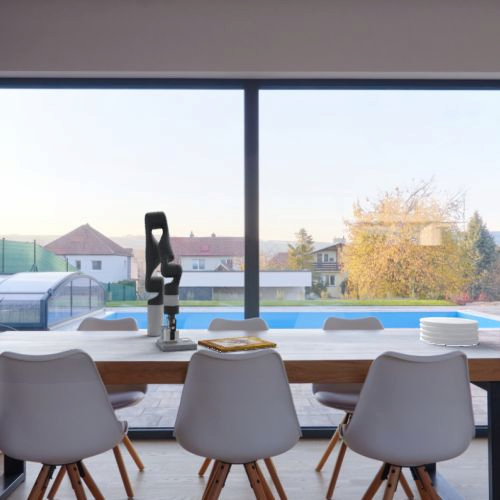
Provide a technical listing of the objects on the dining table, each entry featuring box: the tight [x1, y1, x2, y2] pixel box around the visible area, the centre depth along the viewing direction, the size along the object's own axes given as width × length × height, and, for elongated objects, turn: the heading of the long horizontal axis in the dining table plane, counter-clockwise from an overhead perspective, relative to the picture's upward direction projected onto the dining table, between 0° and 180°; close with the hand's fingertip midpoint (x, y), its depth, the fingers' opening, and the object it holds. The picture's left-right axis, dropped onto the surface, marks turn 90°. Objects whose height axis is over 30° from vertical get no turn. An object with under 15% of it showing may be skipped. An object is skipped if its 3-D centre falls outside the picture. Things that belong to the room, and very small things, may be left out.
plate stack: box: [419, 316, 480, 345], centre depth 243 cm, size 28×28×12 cm
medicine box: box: [159, 324, 174, 339], centre depth 244 cm, size 8×4×9 cm, turn 105°
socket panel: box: [156, 337, 198, 352], centre depth 228 cm, size 20×16×3 cm
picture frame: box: [197, 335, 277, 353], centre depth 233 cm, size 27×2×30 cm
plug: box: [164, 328, 180, 343], centre depth 228 cm, size 6×6×7 cm
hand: (171, 339), depth 228 cm, fingers closed on plug, 5 cm apart
